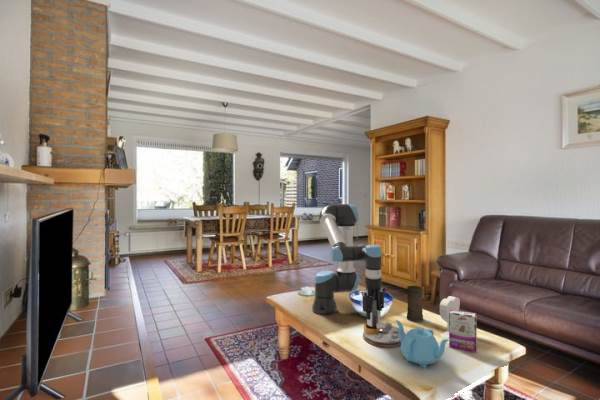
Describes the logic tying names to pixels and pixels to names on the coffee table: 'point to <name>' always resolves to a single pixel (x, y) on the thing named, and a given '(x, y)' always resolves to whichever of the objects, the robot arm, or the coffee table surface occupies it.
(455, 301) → the heart sculpture
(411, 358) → the teapot
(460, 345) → the candy bar box
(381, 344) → the nut base
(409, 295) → the container
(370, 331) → the lugged metal disc
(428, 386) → the coffee table surface
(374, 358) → the coffee table surface
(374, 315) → the steel pin
